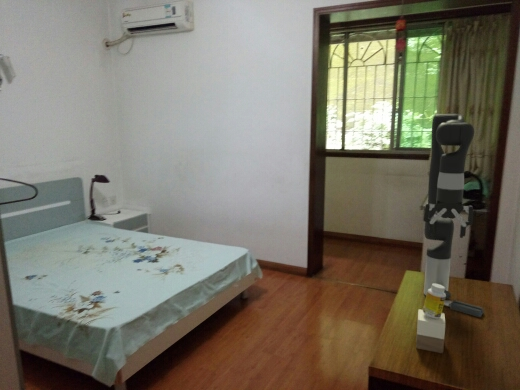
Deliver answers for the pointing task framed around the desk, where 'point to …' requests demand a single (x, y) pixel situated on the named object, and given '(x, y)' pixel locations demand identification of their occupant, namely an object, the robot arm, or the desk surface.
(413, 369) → the desk surface
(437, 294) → the supplement bottle
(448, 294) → the can opener
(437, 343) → the tower base
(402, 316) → the desk surface
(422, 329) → the tower top
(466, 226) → the robot arm
